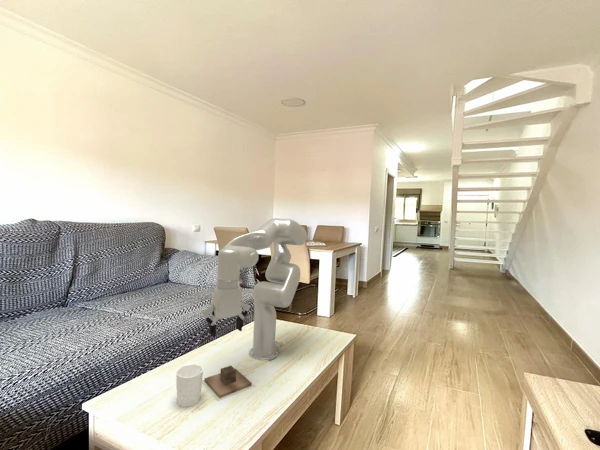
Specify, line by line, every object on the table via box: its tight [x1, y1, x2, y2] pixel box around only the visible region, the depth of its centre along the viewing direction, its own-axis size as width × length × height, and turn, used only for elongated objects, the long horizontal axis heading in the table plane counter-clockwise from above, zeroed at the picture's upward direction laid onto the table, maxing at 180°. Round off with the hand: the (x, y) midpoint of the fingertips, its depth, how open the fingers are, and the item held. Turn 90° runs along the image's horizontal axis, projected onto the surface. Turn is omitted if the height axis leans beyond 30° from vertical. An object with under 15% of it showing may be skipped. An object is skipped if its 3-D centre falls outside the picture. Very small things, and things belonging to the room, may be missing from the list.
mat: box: [202, 368, 256, 402], centre depth 101 cm, size 14×14×1 cm
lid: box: [203, 365, 253, 398], centre depth 101 cm, size 12×12×5 cm
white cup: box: [175, 364, 204, 408], centre depth 91 cm, size 8×8×10 cm
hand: (226, 332), depth 101 cm, fingers open, 9 cm apart
